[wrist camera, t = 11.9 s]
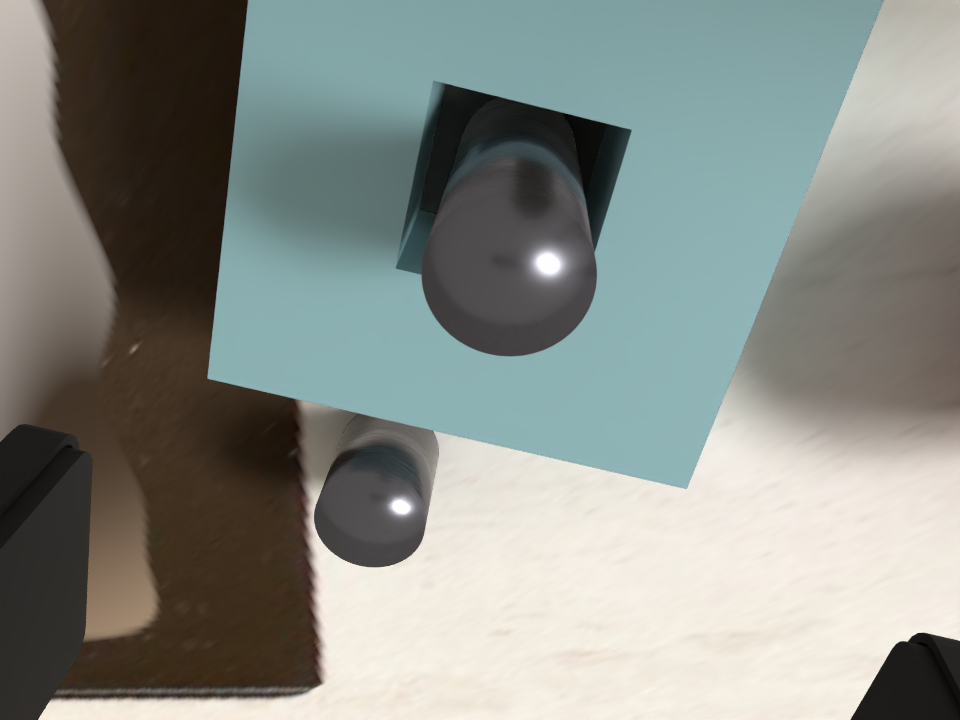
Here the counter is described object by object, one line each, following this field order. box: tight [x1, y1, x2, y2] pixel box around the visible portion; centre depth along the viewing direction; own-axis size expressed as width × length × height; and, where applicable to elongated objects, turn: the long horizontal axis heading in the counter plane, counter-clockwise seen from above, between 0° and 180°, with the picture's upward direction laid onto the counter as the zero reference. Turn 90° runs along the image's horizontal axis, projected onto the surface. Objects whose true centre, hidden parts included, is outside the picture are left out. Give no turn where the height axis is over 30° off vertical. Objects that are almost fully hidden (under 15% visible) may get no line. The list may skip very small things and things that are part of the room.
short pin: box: [314, 414, 439, 567], centre depth 35 cm, size 4×4×5 cm
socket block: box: [208, 0, 883, 489], centre depth 29 cm, size 16×16×6 cm
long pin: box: [421, 97, 597, 357], centre depth 26 cm, size 4×4×12 cm
